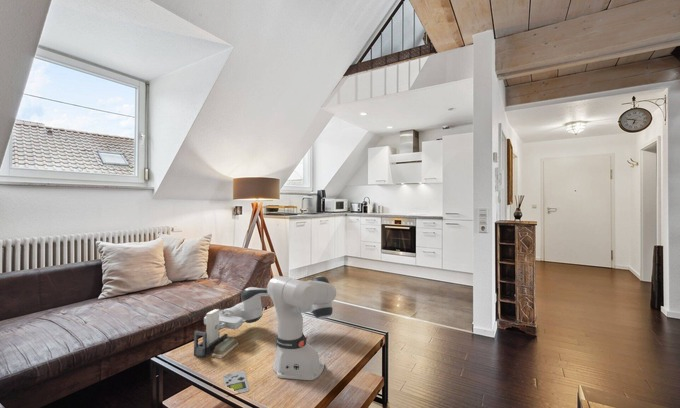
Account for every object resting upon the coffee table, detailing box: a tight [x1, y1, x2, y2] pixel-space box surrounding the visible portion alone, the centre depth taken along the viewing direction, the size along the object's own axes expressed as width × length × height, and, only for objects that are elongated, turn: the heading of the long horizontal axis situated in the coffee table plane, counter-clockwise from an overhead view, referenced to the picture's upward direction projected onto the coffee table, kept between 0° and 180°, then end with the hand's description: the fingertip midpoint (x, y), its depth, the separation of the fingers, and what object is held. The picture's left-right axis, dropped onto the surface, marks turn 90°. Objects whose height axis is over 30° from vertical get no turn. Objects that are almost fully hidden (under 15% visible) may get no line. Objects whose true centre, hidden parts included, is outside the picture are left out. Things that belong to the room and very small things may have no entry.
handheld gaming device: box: [222, 370, 250, 394], centre depth 121 cm, size 9×1×15 cm
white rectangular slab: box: [205, 308, 220, 345], centre depth 148 cm, size 2×6×18 cm, turn 163°
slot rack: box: [193, 330, 228, 358], centre depth 148 cm, size 6×16×11 cm, turn 163°
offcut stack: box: [210, 337, 239, 360], centre depth 146 cm, size 5×14×4 cm, turn 166°
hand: (212, 327), depth 148 cm, fingers closed on white rectangular slab, 2 cm apart
